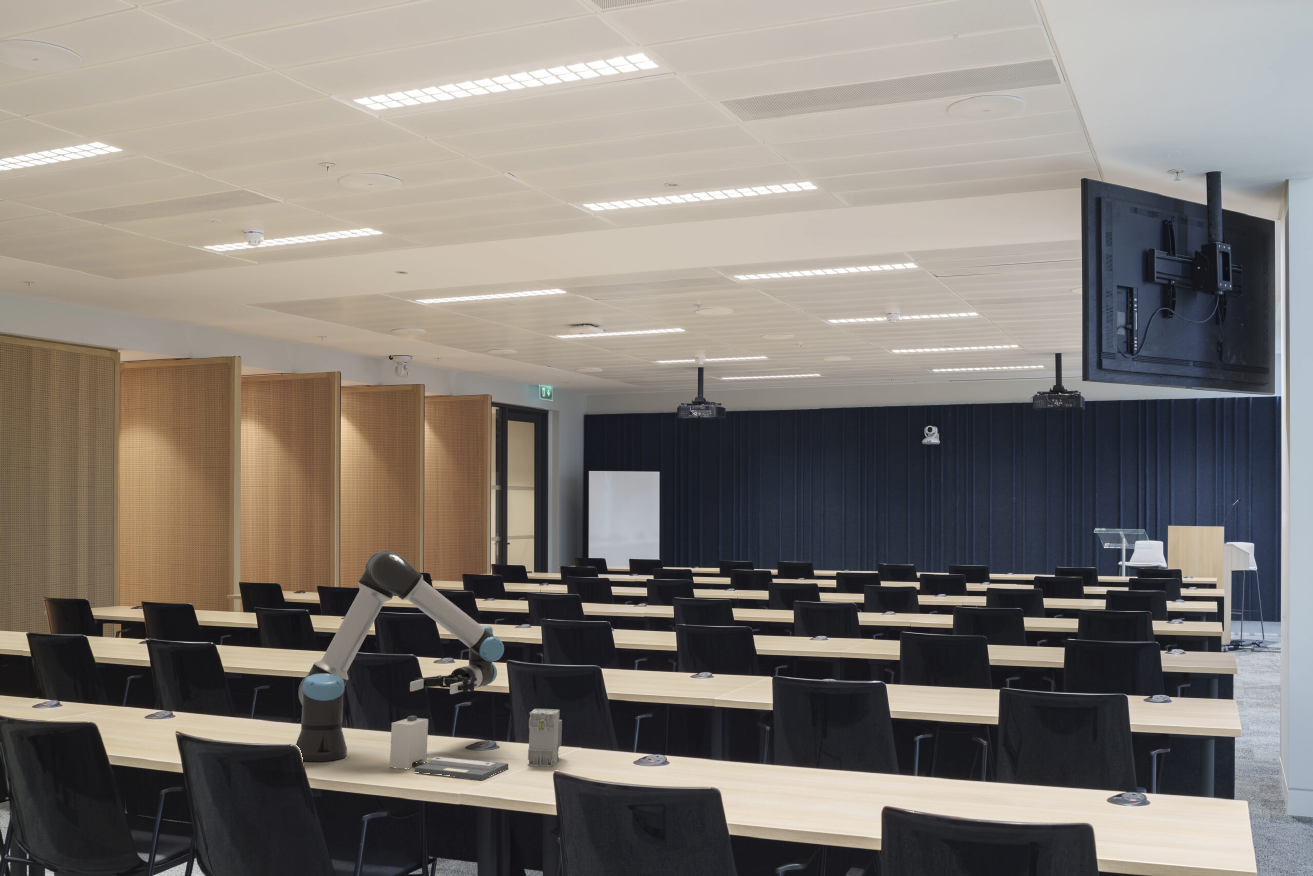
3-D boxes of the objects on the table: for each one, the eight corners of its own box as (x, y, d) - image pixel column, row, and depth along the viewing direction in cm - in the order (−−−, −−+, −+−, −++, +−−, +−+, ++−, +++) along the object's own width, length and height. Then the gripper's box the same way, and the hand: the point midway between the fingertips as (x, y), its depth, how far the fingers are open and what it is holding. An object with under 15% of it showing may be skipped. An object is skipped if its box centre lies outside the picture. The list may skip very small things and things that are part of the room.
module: (389, 767, 312) (391, 718, 313) (408, 760, 322) (410, 713, 323) (408, 769, 310) (410, 720, 311) (426, 762, 320) (428, 715, 321)
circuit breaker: (561, 756, 333) (563, 706, 334) (552, 766, 319) (554, 714, 320) (537, 755, 334) (539, 705, 335) (527, 765, 320) (529, 713, 321)
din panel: (414, 773, 306) (415, 762, 306) (443, 761, 321) (444, 751, 321) (481, 780, 299) (482, 769, 300) (508, 768, 314) (508, 758, 315)
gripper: (500, 693, 343) (467, 703, 323) (430, 688, 351) (394, 698, 331) (501, 668, 343) (468, 677, 323) (431, 664, 351) (395, 673, 331)
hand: (430, 688), depth 327 cm, fingers open, 13 cm apart
